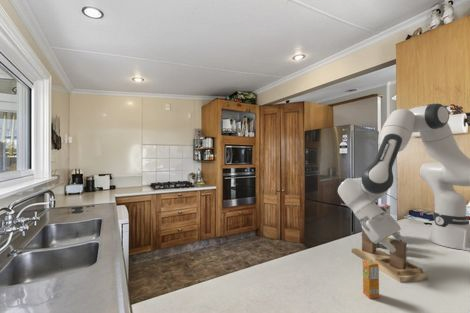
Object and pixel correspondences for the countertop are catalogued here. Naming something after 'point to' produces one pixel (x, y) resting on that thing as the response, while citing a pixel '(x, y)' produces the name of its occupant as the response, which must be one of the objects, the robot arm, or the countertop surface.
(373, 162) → the robot arm
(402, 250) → the brown block
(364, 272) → the supplement box
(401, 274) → the wooden tray stand
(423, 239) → the countertop surface
